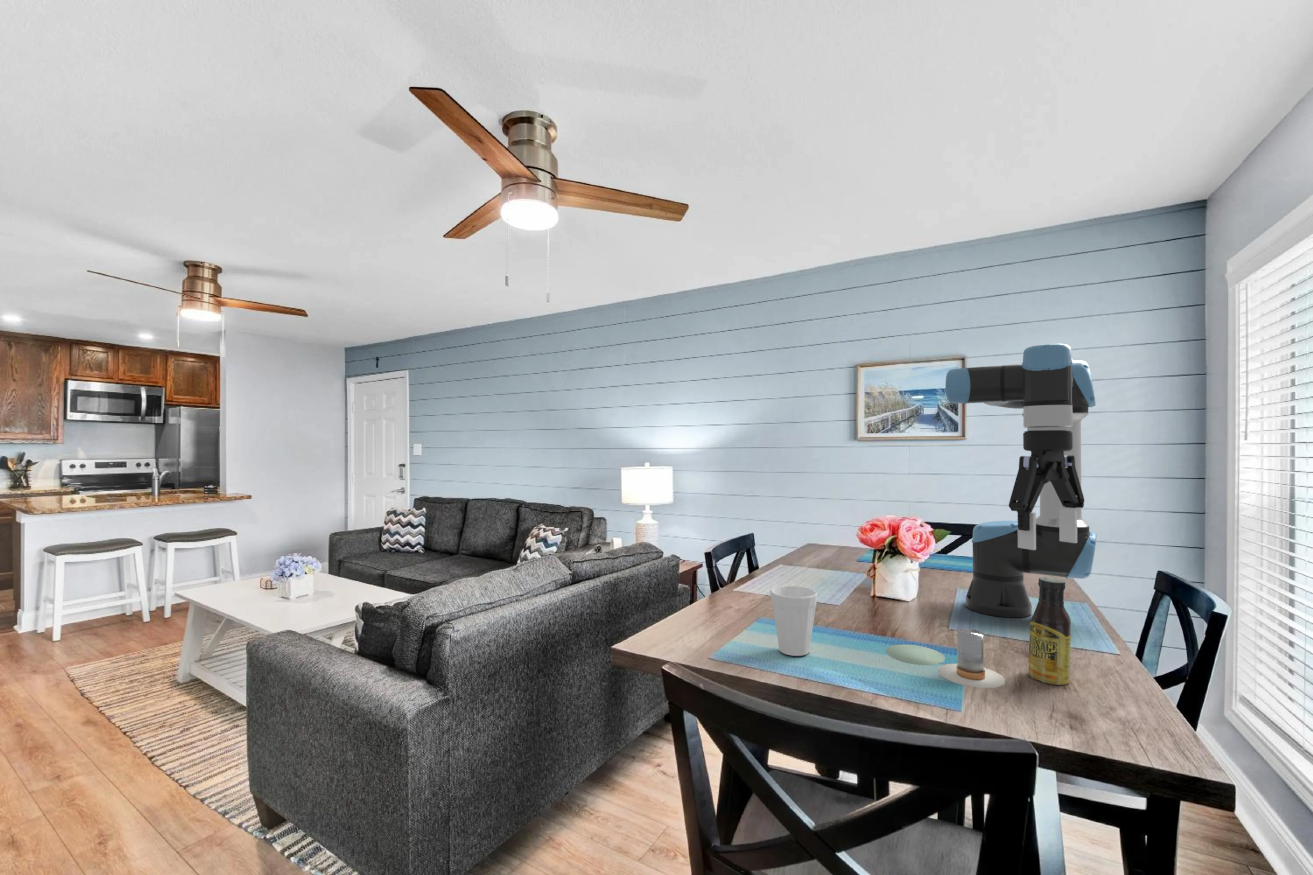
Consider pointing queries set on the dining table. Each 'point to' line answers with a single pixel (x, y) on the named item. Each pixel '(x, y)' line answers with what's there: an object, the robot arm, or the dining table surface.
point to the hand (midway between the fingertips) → (1048, 545)
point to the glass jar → (970, 654)
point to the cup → (794, 618)
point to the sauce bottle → (1050, 635)
